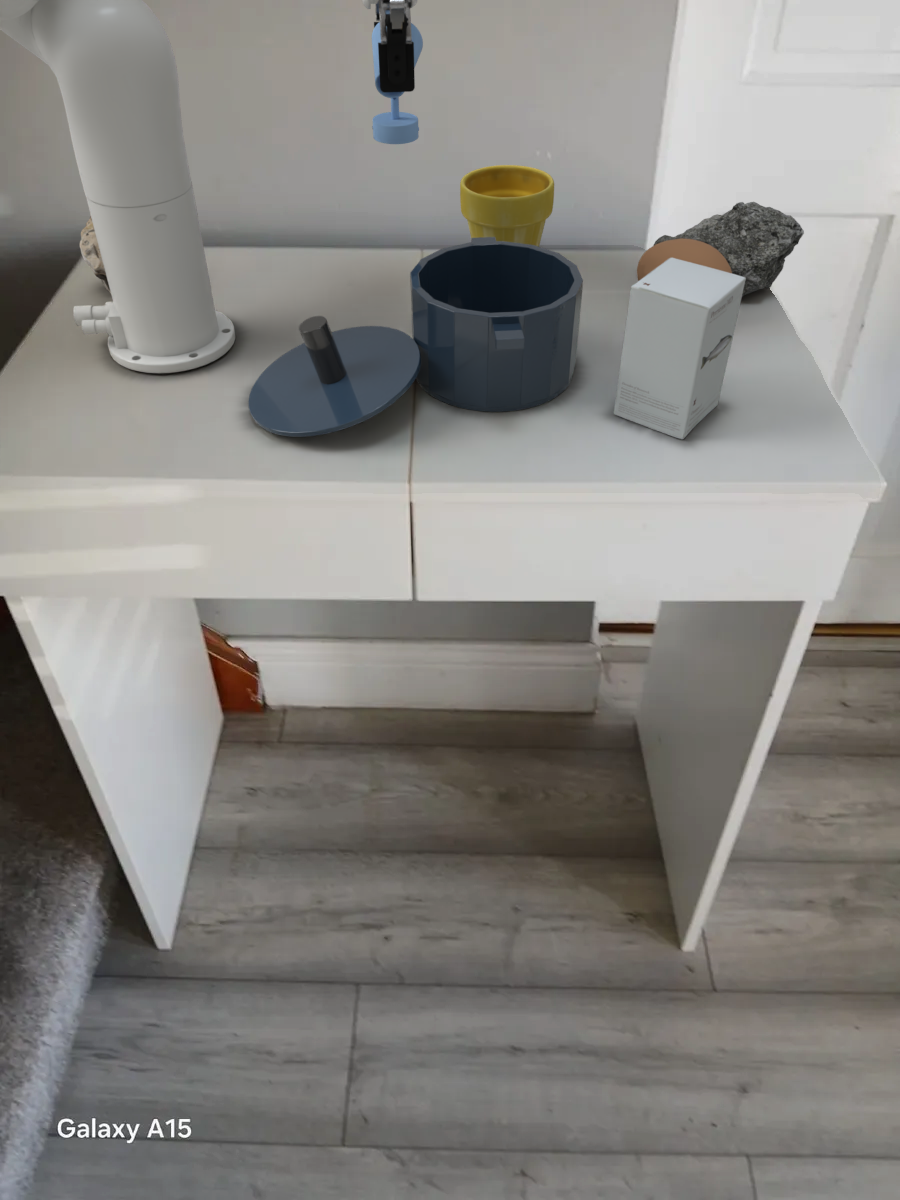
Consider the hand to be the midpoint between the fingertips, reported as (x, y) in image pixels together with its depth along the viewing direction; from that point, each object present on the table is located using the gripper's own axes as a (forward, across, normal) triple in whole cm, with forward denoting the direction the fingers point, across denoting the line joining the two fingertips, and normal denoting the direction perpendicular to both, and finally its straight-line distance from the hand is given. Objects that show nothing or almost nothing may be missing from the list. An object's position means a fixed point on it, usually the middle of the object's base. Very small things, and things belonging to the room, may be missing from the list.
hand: (394, 77), depth 92 cm
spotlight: (+5, 0, 0) cm, 5 cm away
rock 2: (+16, +5, +34) cm, 37 cm away
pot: (+22, +18, +8) cm, 29 cm away
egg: (+17, +13, +33) cm, 39 cm away
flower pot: (+22, -5, +12) cm, 25 cm away
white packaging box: (+22, +28, +22) cm, 42 cm away
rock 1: (+22, -5, -30) cm, 37 cm away
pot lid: (+19, +22, -8) cm, 31 cm away
